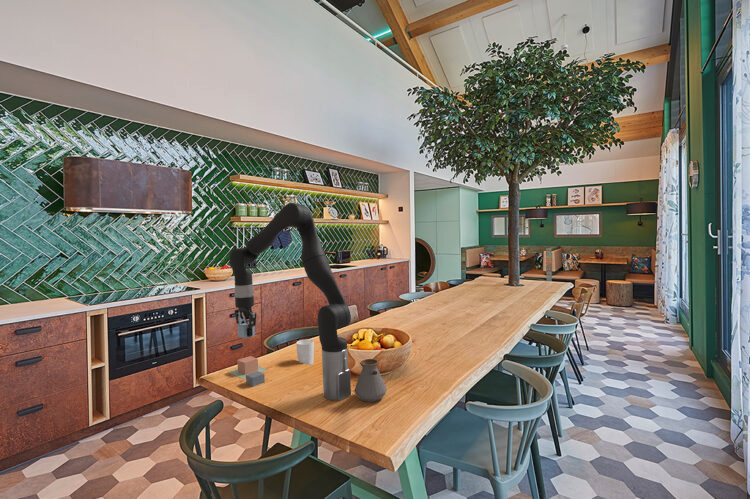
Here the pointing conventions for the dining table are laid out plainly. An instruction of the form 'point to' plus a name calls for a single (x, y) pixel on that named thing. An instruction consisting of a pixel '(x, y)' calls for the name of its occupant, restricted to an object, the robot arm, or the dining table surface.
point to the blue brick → (244, 330)
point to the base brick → (247, 365)
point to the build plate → (242, 376)
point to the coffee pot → (370, 382)
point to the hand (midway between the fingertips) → (246, 334)
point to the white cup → (305, 351)
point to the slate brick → (255, 378)
